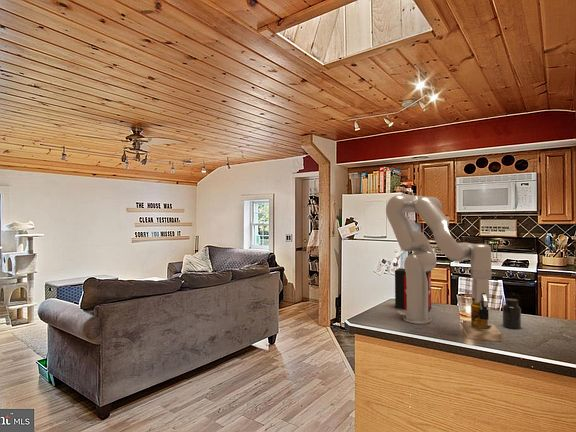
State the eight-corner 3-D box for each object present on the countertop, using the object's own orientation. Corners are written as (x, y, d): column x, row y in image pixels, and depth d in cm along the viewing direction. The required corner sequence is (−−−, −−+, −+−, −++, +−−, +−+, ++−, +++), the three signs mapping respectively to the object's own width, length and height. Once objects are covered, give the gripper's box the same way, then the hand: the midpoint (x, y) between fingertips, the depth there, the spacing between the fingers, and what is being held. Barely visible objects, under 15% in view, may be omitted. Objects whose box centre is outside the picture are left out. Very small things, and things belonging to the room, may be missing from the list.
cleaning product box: (395, 308, 193) (394, 270, 193) (399, 304, 201) (398, 268, 201) (428, 312, 185) (428, 272, 185) (431, 308, 193) (430, 270, 193)
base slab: (467, 338, 146) (467, 330, 146) (462, 329, 158) (462, 322, 158) (501, 341, 143) (501, 333, 143) (493, 331, 155) (493, 324, 154)
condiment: (468, 327, 150) (467, 298, 150) (472, 322, 157) (472, 294, 157) (488, 331, 146) (487, 301, 145) (492, 325, 152) (491, 297, 152)
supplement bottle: (523, 329, 157) (523, 301, 156) (506, 328, 158) (505, 301, 158) (517, 324, 163) (516, 298, 163) (500, 324, 165) (500, 297, 164)
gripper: (467, 270, 160) (467, 309, 160) (475, 277, 143) (475, 321, 143) (486, 271, 157) (486, 311, 158) (496, 278, 141) (496, 322, 141)
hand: (481, 315), depth 150 cm, fingers open, 9 cm apart
